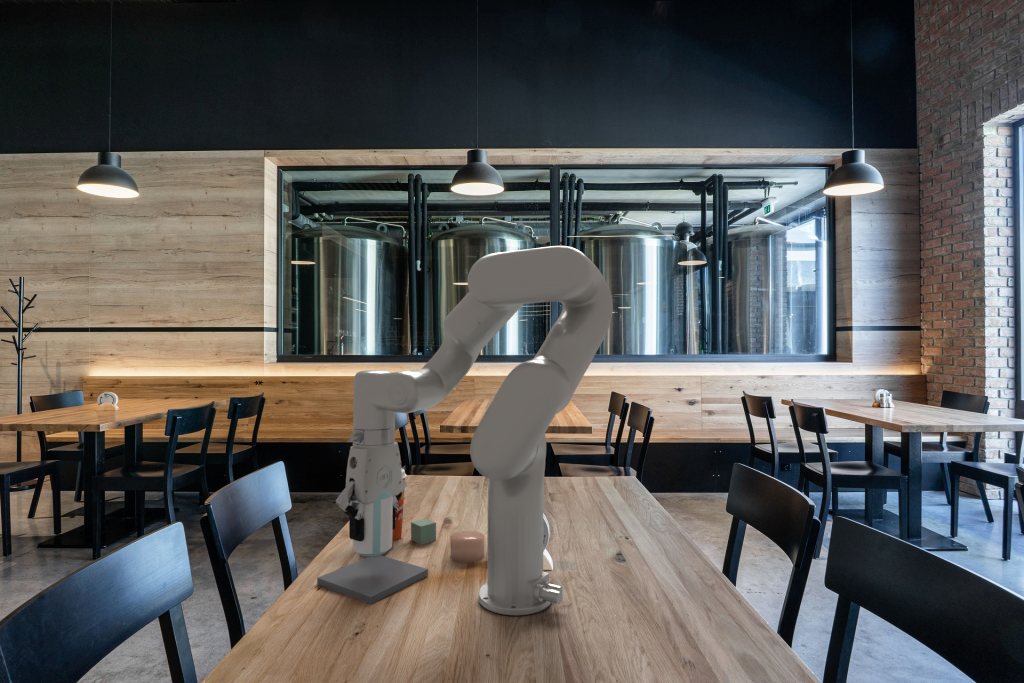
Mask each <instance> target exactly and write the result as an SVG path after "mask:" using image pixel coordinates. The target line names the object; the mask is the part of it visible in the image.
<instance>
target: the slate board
mask: <svg viewBox="0 0 1024 683" xmlns="http://www.w3.org/2000/svg"><path fill="white" fill-rule="evenodd" d="M428 576H429V569H428V568H426V567H422V566H419V565H415V564H412V563H409V562H405V561H402V560H398V559H395V558H391V557H388V556H386V555H385V556H382V555H377V556H366V557H365V558H362V559H359V560H358V561H355V562H352V563H350V564H348V565H346V566H342V567H340V568H338V569H335V570H333V571H330V572H328V573H326V574H323V575H320V576H318V577H316V582H317V583H316V585H318V586H321V587H323V588H325V589H328V590H331V591H334V592H336V593H340V594H342V595H345V596H347V597H350V598H353V599H355V600H359V601H360V602H361V601H362V602H364V603H367V604H369V605H373V604H374V603H377V602H378V601H381V600H382V599H384V598H386V597H388V596H390V595H392V594H395V593H396V592H398V591H400V590H402V589H404V588H406V587H408V586H410V585H412V584H414V583H416V582H418V581H420V580H423V579H424V578H426V577H428Z"/></svg>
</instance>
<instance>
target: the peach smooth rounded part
mask: <svg viewBox="0 0 1024 683" xmlns="http://www.w3.org/2000/svg"><path fill="white" fill-rule="evenodd" d="M485 538H486V537H485V534H483V533H482V532H480V531H471V530H470V531H469V530H467V531H466V530H464V531H460V532H455V533H453V534H452V535H450V538H449V539H450V545H449V548H450V551H449V553H450V556H449V557H450V559H451V560H453V561H454V562H459V563H474V562H479V561H481V560H482V559H484V557H485V548H486V547H485Z"/></svg>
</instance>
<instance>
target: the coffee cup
mask: <svg viewBox="0 0 1024 683" xmlns="http://www.w3.org/2000/svg"><path fill="white" fill-rule="evenodd" d="M401 470H402V479H403V480H404V481H405V482H406V478H407V474H406V472H405V469H404V468H402V467H401ZM404 501H405V489H404V490H403V492H402V496H401V498H400V499H399V501H398V506H397V507H396V508H395V529H393V542H394V541H397V540H398V539H401V538H402V533H403V522H404V521H403V520H404V506H405V505H404V504H405V502H404Z"/></svg>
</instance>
